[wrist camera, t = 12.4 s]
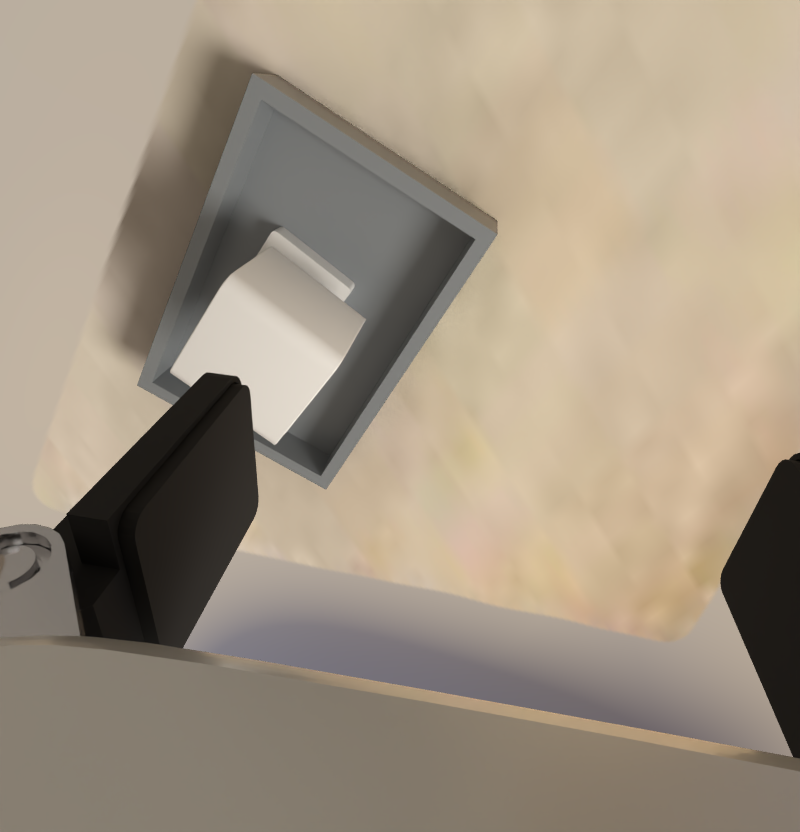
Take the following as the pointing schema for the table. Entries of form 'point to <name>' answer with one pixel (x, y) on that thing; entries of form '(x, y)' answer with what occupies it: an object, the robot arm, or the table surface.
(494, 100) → the table surface
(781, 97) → the table surface
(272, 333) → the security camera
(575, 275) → the table surface
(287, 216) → the parts tray
